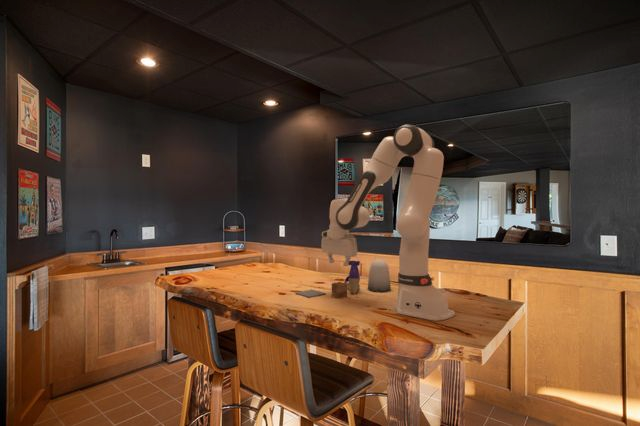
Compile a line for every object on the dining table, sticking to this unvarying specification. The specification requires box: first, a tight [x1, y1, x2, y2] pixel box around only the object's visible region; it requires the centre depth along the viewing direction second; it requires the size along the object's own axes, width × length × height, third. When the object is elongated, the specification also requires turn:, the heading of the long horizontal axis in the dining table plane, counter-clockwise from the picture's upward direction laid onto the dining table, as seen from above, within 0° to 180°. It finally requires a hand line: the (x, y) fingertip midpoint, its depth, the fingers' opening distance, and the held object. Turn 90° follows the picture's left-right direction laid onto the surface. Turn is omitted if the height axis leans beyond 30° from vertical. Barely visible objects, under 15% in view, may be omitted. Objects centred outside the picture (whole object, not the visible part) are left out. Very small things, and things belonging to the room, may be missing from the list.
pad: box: [295, 289, 327, 299], centre depth 168 cm, size 10×10×1 cm
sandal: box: [343, 260, 361, 295], centre depth 177 cm, size 8×20×15 cm, turn 175°
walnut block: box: [331, 281, 348, 300], centre depth 164 cm, size 5×5×6 cm
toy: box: [367, 258, 392, 293], centre depth 177 cm, size 11×11×15 cm
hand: (338, 264), depth 164 cm, fingers open, 8 cm apart
